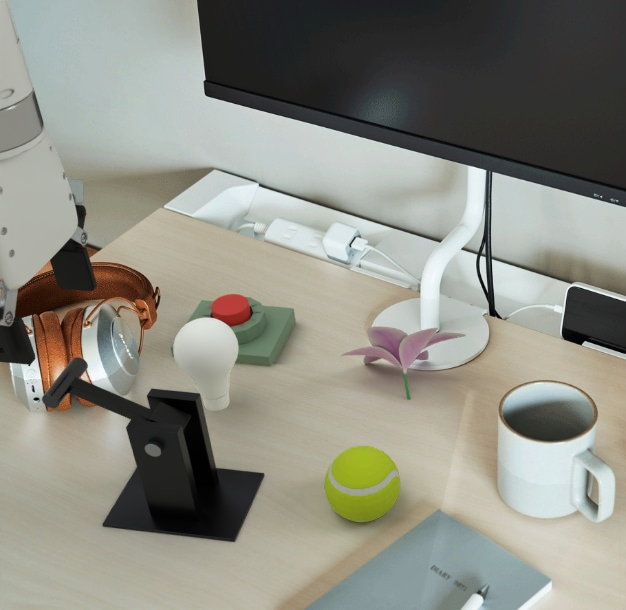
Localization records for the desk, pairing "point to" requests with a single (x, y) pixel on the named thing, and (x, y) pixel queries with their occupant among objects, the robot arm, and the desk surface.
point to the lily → (400, 346)
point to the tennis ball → (362, 484)
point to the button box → (257, 331)
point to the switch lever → (107, 398)
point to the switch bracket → (181, 478)
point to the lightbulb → (207, 358)
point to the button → (231, 309)
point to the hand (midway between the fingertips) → (48, 322)
